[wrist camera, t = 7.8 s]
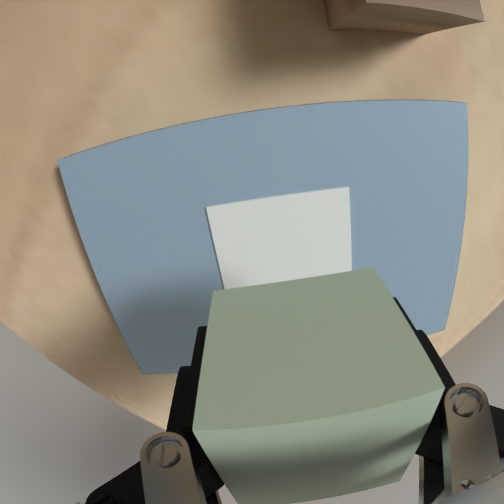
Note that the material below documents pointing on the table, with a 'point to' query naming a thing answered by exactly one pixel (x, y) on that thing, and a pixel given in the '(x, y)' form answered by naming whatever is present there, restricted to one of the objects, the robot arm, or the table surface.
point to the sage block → (312, 388)
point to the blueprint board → (271, 211)
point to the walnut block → (402, 15)
